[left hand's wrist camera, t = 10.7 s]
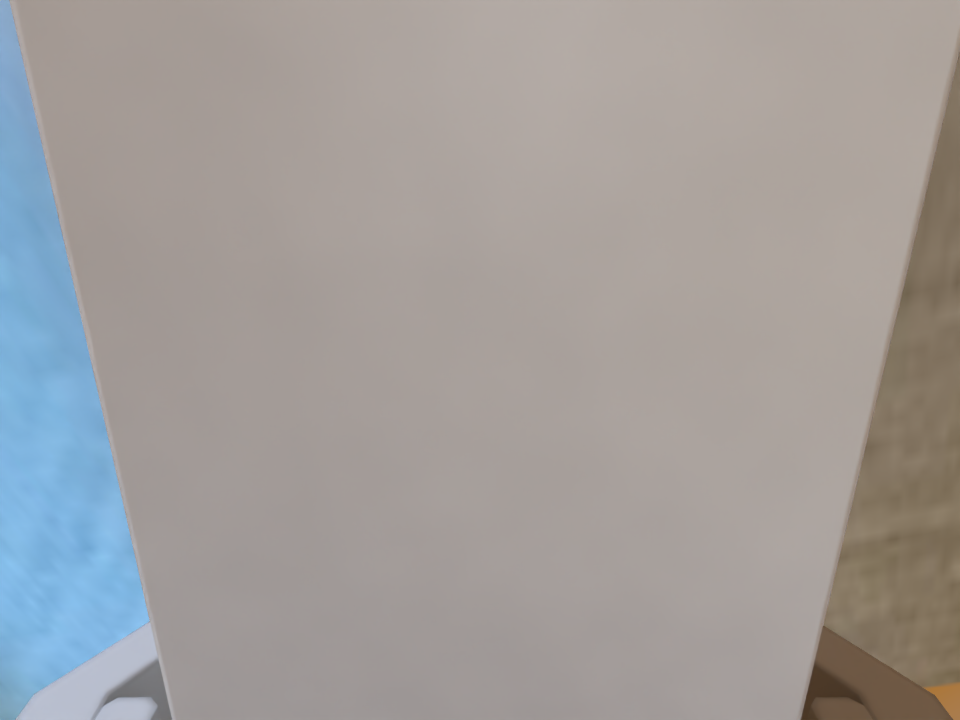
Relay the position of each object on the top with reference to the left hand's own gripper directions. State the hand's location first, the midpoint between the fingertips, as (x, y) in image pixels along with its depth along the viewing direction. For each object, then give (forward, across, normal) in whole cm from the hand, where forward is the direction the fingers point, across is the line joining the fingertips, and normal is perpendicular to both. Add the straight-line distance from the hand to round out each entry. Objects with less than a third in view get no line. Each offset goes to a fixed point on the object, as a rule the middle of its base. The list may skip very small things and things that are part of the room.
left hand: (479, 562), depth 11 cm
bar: (+4, 0, -10) cm, 11 cm away
